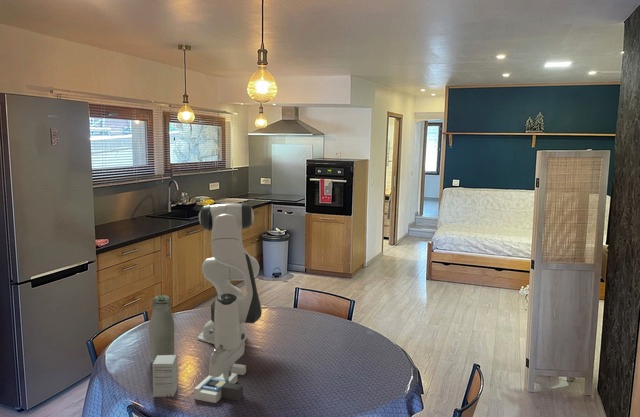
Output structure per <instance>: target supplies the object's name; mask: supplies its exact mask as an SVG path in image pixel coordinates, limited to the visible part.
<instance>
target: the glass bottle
mask: <svg viewBox="0 0 640 417" xmlns="http://www.w3.org/2000/svg"><path fill="white" fill-rule="evenodd" d="M171 305H172V301H171V297H169V295H165V294H160V295H156V296H155V297H154V298H152V304H151V306H152V311H151V316H150V319H149V325H148V328H149V352H150V359H151V360H152V362H154V360H155V358H156V357H157V356H158V355H175V321H174V317H173V314H172V310H171V309H172V308H171Z"/></svg>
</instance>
